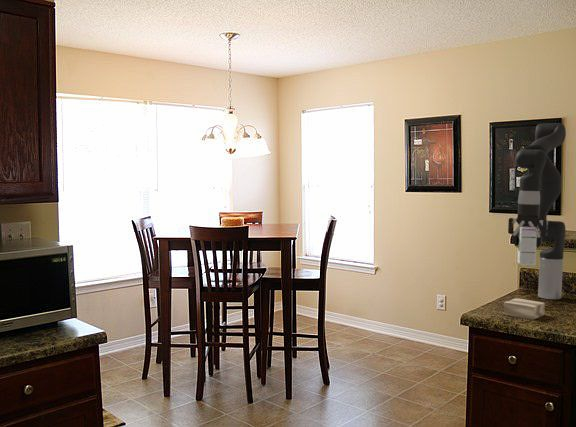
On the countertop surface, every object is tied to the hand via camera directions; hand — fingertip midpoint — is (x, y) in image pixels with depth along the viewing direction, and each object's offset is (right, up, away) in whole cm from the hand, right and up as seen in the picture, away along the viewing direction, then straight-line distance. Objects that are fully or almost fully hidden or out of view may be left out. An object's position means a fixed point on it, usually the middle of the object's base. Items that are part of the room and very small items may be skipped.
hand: (526, 246), depth 220 cm
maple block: (0, -26, +2) cm, 27 cm away
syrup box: (0, -7, 0) cm, 7 cm away
